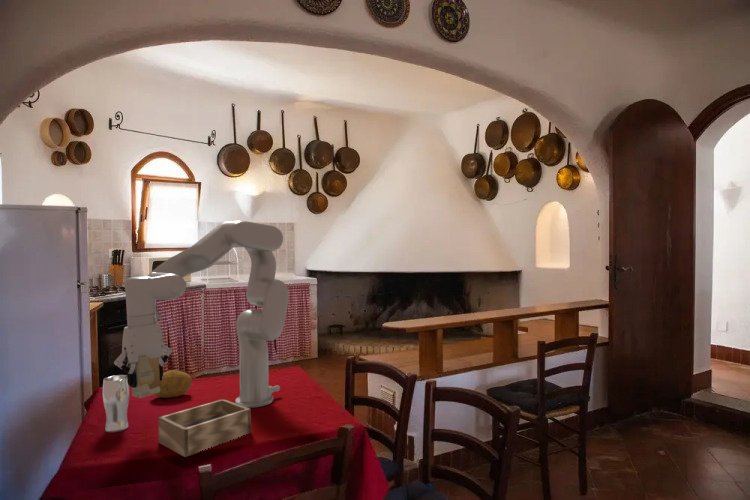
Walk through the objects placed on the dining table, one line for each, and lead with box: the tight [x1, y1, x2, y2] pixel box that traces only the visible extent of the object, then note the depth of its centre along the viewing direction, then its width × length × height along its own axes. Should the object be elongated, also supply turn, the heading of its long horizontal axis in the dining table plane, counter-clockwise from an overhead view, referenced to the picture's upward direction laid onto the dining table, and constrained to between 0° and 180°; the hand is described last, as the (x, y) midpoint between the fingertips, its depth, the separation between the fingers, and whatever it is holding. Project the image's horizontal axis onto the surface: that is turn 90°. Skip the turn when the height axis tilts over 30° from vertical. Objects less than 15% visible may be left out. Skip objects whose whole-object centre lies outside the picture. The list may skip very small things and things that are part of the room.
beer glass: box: [102, 374, 130, 433], centre depth 144 cm, size 7×7×15 cm
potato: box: [154, 369, 193, 399], centre depth 173 cm, size 10×13×9 cm
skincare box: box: [131, 354, 160, 399], centre depth 137 cm, size 6×4×12 cm
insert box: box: [158, 398, 252, 458], centre depth 136 cm, size 20×14×7 cm
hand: (145, 382), depth 138 cm, fingers closed on skincare box, 6 cm apart
